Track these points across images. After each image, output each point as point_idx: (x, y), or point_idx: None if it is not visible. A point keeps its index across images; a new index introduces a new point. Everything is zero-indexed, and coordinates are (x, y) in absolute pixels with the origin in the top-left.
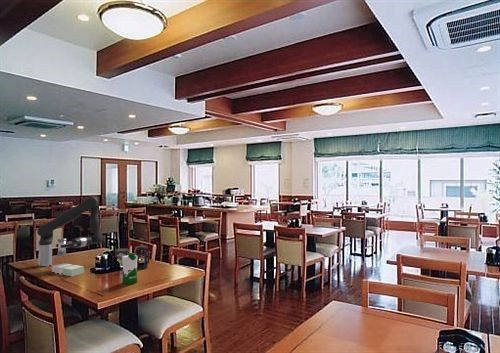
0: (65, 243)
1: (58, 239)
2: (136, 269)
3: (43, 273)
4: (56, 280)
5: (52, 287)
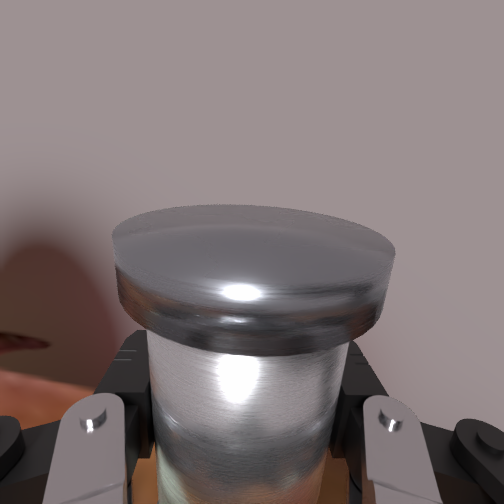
0: (157, 391)
1: (265, 208)
2: None
3: (323, 498)
4: (50, 420)
5: (3, 345)
